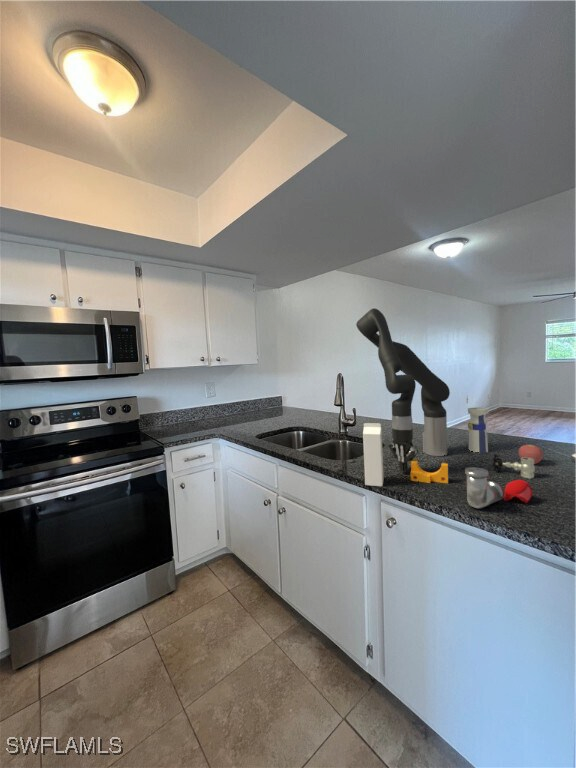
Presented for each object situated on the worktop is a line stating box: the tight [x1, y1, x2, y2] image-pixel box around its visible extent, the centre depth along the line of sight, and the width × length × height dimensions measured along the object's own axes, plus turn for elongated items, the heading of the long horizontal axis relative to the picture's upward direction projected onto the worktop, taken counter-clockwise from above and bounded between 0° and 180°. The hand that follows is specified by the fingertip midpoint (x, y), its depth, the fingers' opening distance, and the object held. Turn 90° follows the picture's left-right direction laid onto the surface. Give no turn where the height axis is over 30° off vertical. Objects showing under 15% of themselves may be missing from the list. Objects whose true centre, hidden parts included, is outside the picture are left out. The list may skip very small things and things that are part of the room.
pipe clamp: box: [410, 459, 449, 484], centre depth 112 cm, size 12×4×6 cm, turn 61°
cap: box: [503, 479, 534, 504], centre depth 94 cm, size 8×6×6 cm
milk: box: [362, 422, 384, 487], centre depth 113 cm, size 6×6×22 cm
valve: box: [492, 453, 536, 479], centre depth 113 cm, size 7×7×12 cm
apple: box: [518, 444, 544, 465], centre depth 123 cm, size 7×7×8 cm
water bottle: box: [466, 396, 489, 454], centre depth 141 cm, size 8×9×25 cm
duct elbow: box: [464, 466, 505, 510], centre depth 92 cm, size 11×6×11 cm, turn 118°
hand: (403, 470), depth 121 cm, fingers closed
